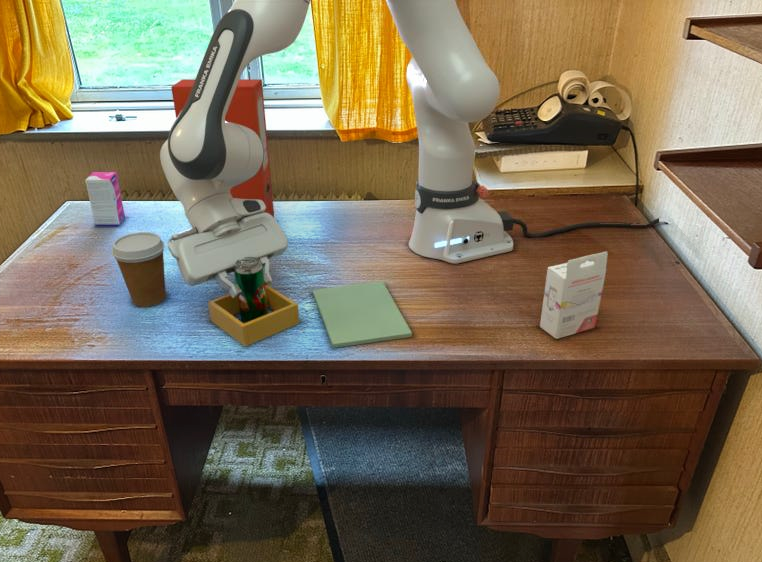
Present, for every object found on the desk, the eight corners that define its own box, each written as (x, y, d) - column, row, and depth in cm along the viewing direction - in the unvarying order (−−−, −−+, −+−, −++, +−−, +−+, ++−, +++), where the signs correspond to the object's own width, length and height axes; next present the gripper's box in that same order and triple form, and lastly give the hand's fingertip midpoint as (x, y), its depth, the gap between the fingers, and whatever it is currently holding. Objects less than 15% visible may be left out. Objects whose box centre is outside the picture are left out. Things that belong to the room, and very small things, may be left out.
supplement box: (119, 226, 160) (108, 179, 154) (94, 227, 161) (83, 180, 154) (126, 217, 165) (116, 171, 159) (102, 217, 165) (91, 171, 159)
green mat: (382, 284, 133) (382, 280, 133) (412, 336, 117) (412, 332, 117) (312, 293, 131) (312, 289, 130) (332, 348, 115) (332, 344, 114)
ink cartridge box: (577, 315, 122) (591, 240, 113) (595, 328, 118) (611, 251, 110) (537, 326, 119) (549, 249, 111) (555, 340, 115) (568, 261, 107)
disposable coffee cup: (161, 313, 126) (149, 254, 119) (114, 309, 128) (100, 250, 121) (182, 289, 134) (171, 232, 127) (137, 285, 135) (125, 229, 128)
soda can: (237, 318, 124) (229, 259, 117) (264, 312, 125) (257, 253, 118) (245, 332, 120) (237, 271, 113) (272, 325, 121) (266, 265, 114)
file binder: (204, 219, 163) (183, 78, 145) (274, 220, 161) (261, 78, 143) (194, 232, 156) (170, 87, 138) (267, 234, 155) (252, 87, 137)
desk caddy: (264, 300, 129) (262, 281, 127) (299, 323, 122) (298, 304, 119) (210, 321, 123) (207, 301, 121) (245, 346, 116) (242, 327, 113)
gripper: (166, 229, 111) (205, 303, 110) (270, 197, 121) (306, 264, 121) (159, 245, 116) (196, 316, 115) (259, 214, 127) (293, 278, 126)
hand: (253, 289), depth 118 cm, fingers closed on soda can, 5 cm apart
